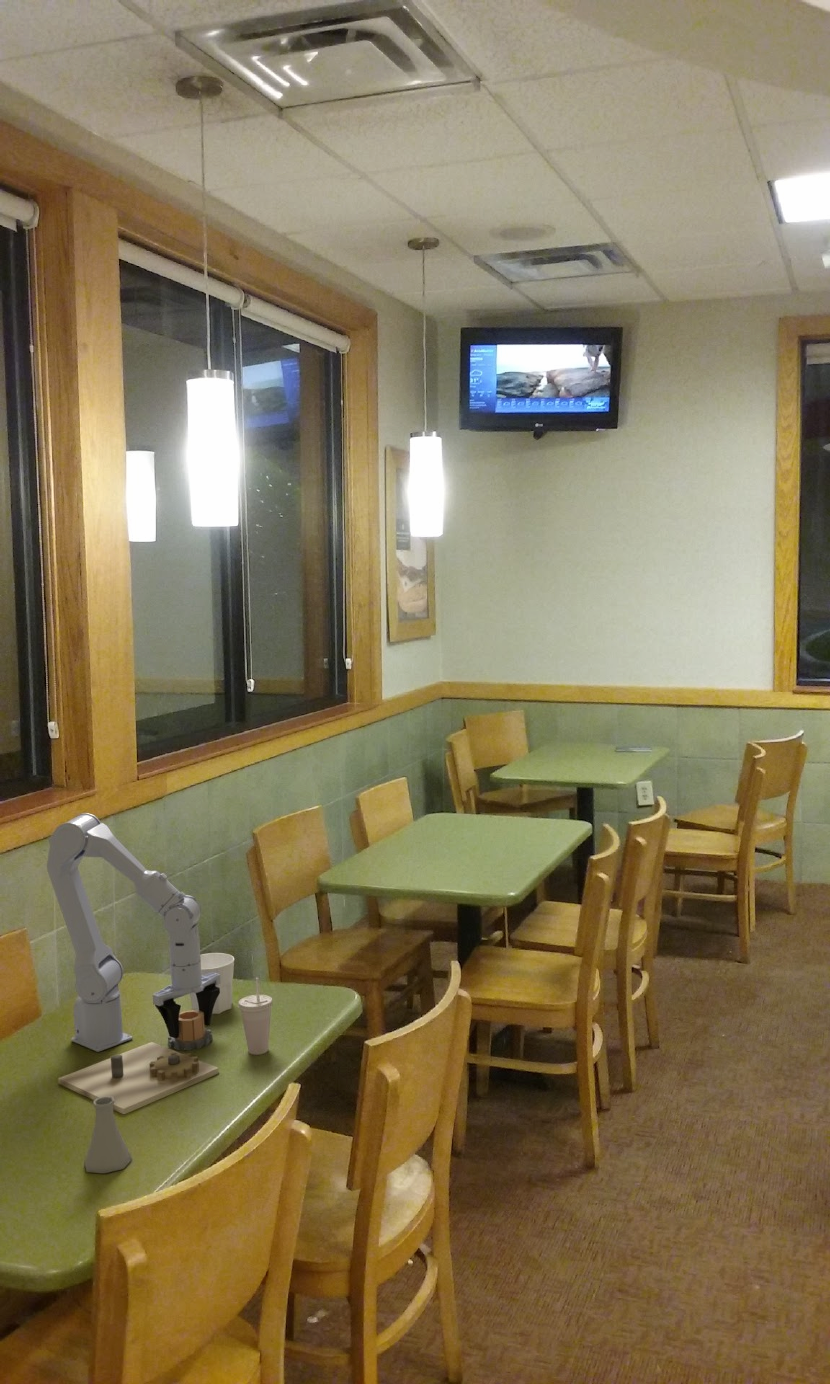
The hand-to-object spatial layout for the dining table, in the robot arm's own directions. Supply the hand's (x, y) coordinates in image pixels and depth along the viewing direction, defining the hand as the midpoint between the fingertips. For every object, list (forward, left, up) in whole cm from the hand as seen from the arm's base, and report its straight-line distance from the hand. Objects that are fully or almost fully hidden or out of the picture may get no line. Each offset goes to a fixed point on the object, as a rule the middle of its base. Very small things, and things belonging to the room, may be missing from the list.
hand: (189, 1030), depth 227 cm
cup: (-11, +14, -2) cm, 18 cm away
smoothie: (+14, +5, -2) cm, 15 cm away
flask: (+28, -37, -2) cm, 46 cm away
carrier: (+6, -16, -2) cm, 17 cm away
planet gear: (0, 0, -2) cm, 2 cm away
